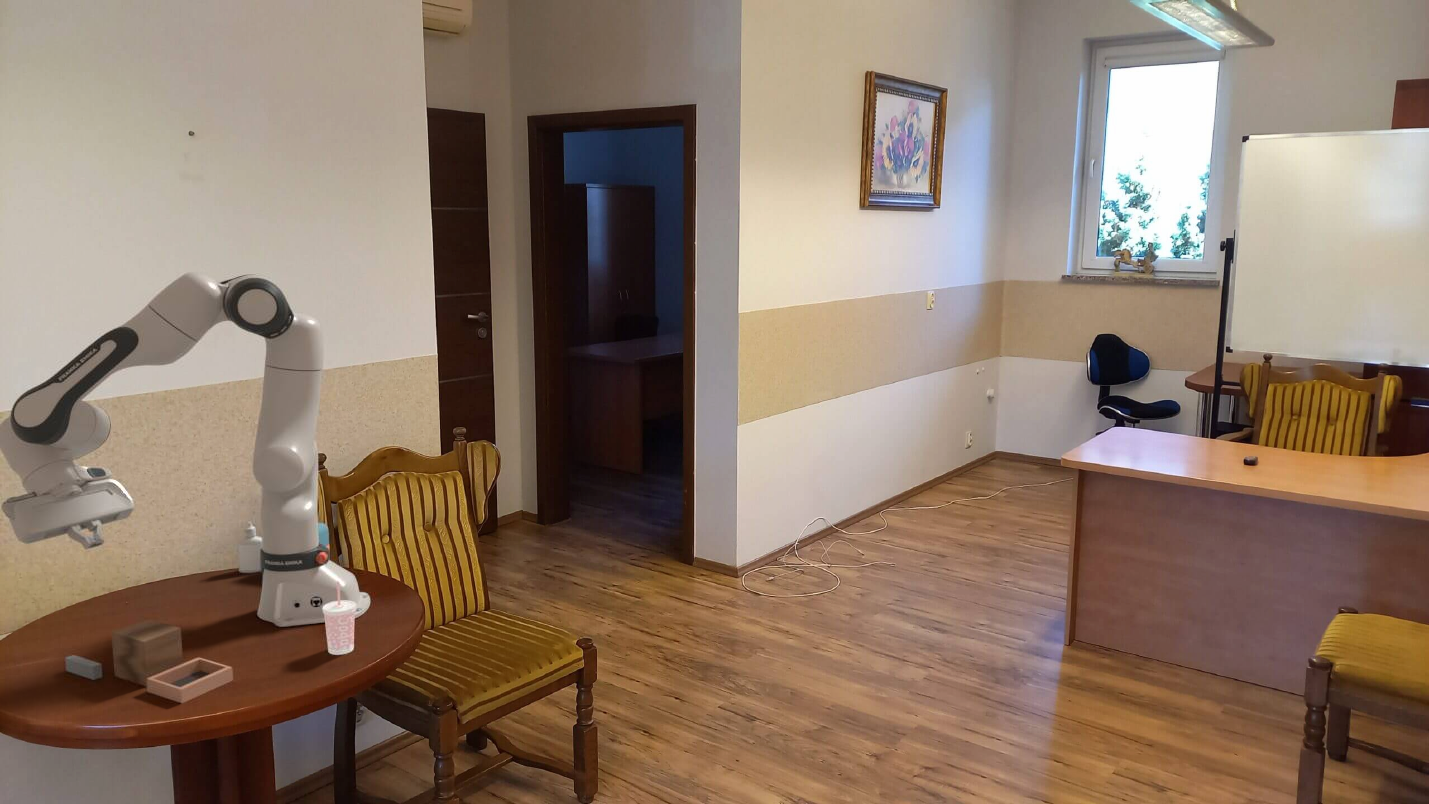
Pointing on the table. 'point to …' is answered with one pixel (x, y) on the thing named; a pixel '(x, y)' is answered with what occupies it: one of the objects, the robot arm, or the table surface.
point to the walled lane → (83, 667)
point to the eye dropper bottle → (249, 551)
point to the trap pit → (189, 680)
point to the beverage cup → (339, 625)
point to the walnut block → (146, 650)
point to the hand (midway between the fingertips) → (95, 545)
